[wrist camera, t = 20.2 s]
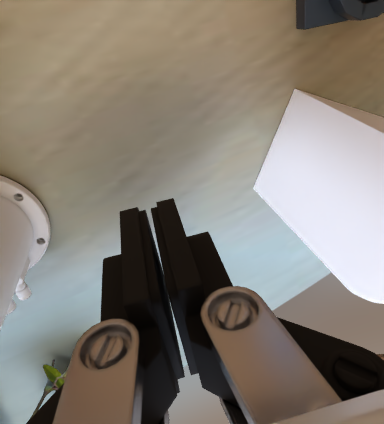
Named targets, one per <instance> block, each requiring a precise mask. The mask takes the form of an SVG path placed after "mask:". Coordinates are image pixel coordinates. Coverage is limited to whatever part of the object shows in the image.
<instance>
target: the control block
mask: <svg viewBox="0 0 384 424" xmlns="http://www.w3.org/2000/svg"><path fill="white" fill-rule="evenodd" d="M296 13H297V29H309V28H314V27H319V26H323V25H328V24H333V23H337V22H342V21H347V20H365V19H370V18H374V17H378V16H379V15H380V14H381V13H384V0H296Z"/></svg>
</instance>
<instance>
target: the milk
mask: <svg viewBox="0 0 384 424" xmlns="http://www.w3.org/2000/svg"><path fill="white" fill-rule="evenodd" d="M253 189H254V190H255V191H256V192H257V193H258V194H259V195H260V196H261V197H262V198H263V199H264V200H265V202H266V203H267V204H268V205H269V206H270V207H271V208H272V209H273V210H274V211H275V212H276V213H277V214H278V215H279V216H280V217H281V219H282V220H283V221H284V222H285V223H286V224H287V225H288V226H289V227H290V228H291V229H292V230H293V231H294V232H295V233H296V235H297V236H298V237H299V238H300V239H301V240H302V241H303V242H304V243H305V244H306V245H307V246H308V247H309V248H310V249H311V251H312V252H313V253H314V254H315V255H316V256H317V257H318V258H319V259H320V260H321V261H322V262H323V263H324V264H325V265H326V267H327V268H328V269H329V270H330V271H331V272H332V273H333V274H334V275H335V276H336V277H337V278H338V279H339V280H340V281H341V282H342V283H343V285H344V286H345V287H346V288H347V289H348V290H350V291H351V292H352V293H353V294H355V295H357V296H359V297H361V298H364V299H366V300H368V301H371V302H373V303H383V304H384V117H381V116H378V115H375V114H372V113H369V112H366V111H362V110H359V109H356V108H353V107H350V106H347V105H344V104H341V103H338V102H335V101H332V100H328V99H325V98H322V97H319V96H316V95H313V94H310V93H307V92H304V91H301V90H298V89H294V91H293V94H292V96H291V98H290V101H289V103H288V106H287V108H286V110H285V113H284V115H283V118H282V120H281V123H280V125H279V127H278V130H277V132H276V135H275V137H274V139H273V142H272V144H271V147H270V149H269V151H268V154H267V156H266V159H265V161H264V163H263V166H262V168H261V171H260V173H259V175H258V178H257V180H256V183H255V185H254V188H253Z"/></svg>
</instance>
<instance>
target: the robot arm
mask: <svg viewBox="0 0 384 424" xmlns="http://www.w3.org/2000/svg"><path fill="white" fill-rule="evenodd" d="M18 193H19V194H21V195H19V194H18ZM156 203H157V207H155V208H151V213H152V218H153V223H154V228H155V233H156V237H157V242H158V247H159V252H160V257H161V262H162V267H163V270H162V267H161V263H160V260H159V256H158V252H157V249H156V245H155V242H154V238H153V235H152V231H151V228H150V224H149V221H148V217H147V214H146V210H143V211H139V210H138V207H136V208H132V209H128V210H124V211H120V231H121V254H120V255H116V256H112V257H108V258H104V260H103V275H102V300H101V322H100V323H98V324H96V325H94V326H92V327H91V328H90V329H88V330H87V331H86V332H85V333H84V334H83V335H82V336H81V338H80V339H79V340H78V341H77V343H76V346H75V348H74V350H73V353H72V357H71V360H70V364H69V367H68V371H67V374H66V378H65V381H64V383H63V385H62V386H61V387H60V388H59V389H58V390H57V391H56V392H55V393H54V394H53V395H52V396H51V397H50V399H49V400H48V401H47V402H46V403H45V404H44V405H43V406H42V407H41V408H40V409H39V410H38V411H37V412H36V414H35V415H34V416H33V417H32V418H31V419H30V420H29V421H28V422H27V423H26V424H169V414H168V408H169V407H170V406H171V404H172V402H173V401H174V399H175V398H176V396H177V393H179V392H180V391H179V385H178V380H177V379H180V378H183V377H185V376H184V370H183V365H182V360H181V355H180V350H179V345H178V340H177V335H176V330H175V326H174V321H173V316H172V311H171V307H172V310H173V314H174V317H175V321H176V324H177V328H178V331H179V335H180V338H181V342H182V345H183V349H184V352H185V356H186V359H187V363H188V366H189V370H190V373H191V375H193V374H197V373H199V376H200V380H201V384H202V387H203V388H204V389H206V390H208V391H210V392H211V393H213V394H215V395H217V396H219V398H220V402H221V405H222V407H223V409H224V411H225V414H226V416H227V418H228V420H229V423H230V424H384V354H375V353H373V352H371V351H369V350H367V349H365V348H363V347H360V346H357V345H354V344H352V343H349V342H345V341H343V340H340V339H337V338H334V337H332V336H328V335H326V334H323V333H320V332H317V331H315V330H312V329H309V328H306V327H303V326H300V325H298V324H295V323H292V322H289V321H286V320H283V319H280V318H278V317H276V316H275V315H274V313H273V312H272V311H271V309H270V308H269V307H268V306H267V304H266V303H265V302H264V300H263V299H262V298H261V297H260V296H259V295H258V294H257V293H256V292H254V291H252V290H250V289H248V288H244V287H239V286H233V285H232V283H231V281H230V279H229V276H228V274H227V272H226V270H225V268H224V265H223V263H222V261H221V259H220V256H219V254H218V252H217V250H216V248H215V245H214V243H213V241H212V239H211V236H210V234H209V233H208V232H204V233H200V234H196V235H193V236H189V237H186V234H185V231H184V228H183V225H182V222H181V219H180V216H179V213H178V211H177V208H176V205H175V202H174V199H173V198H172V199H168V200H164V201H160V202H156ZM50 235H51V226H50V222H49V217H48V215H47V213H46V211H45V209H44V207H43V206H42V204H41V203H40V202H39V200H38V199H37V198H36V197H35V196H34V195H33V194H32V193H31V192H30V191H29V190H27V189H26V188H24V187H23V186H21V185H20V184H18V183H17V182H14V181H12V180H10V179H8V178H6V177H3V176H0V330H1V328H2V325H3V322H4V320H5V317H6V315H8V314H10V313H11V312H12V311H14V309H15V308H16V303H15V302H14V300H13V299H12V298H13V295H14V292H15V293H16V295H17V296H18V298H19V299H20V300H25V299H28V298H29V297H30V296H31V294H32V293H31V291H30V289H29V287H28V285H27V284H26V283H25V282H24V279H25V276H26V273H27V270H28V269H29V268H31V267H33V266H34V265H35V264H36V263H37V262H38V261H39V260H40V259H41V258H42V256H43V255H44V253H45V251H46V249H47V246H48V244H49V240H50ZM163 272H164V274H163ZM168 295H169V296H168ZM169 299H170V301H169ZM170 303H171V306H170Z"/></svg>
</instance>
